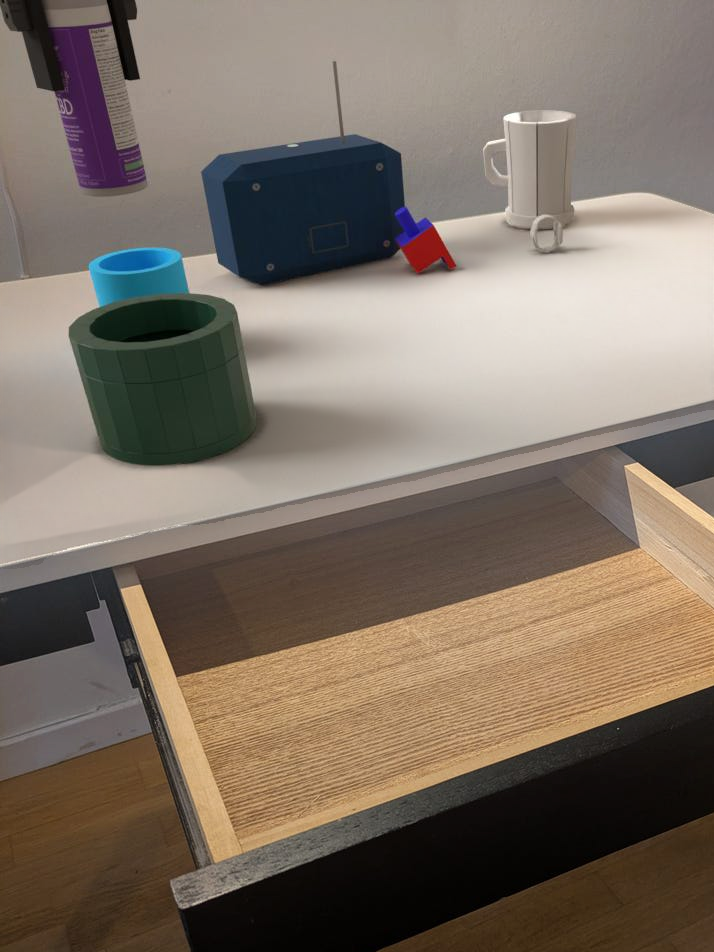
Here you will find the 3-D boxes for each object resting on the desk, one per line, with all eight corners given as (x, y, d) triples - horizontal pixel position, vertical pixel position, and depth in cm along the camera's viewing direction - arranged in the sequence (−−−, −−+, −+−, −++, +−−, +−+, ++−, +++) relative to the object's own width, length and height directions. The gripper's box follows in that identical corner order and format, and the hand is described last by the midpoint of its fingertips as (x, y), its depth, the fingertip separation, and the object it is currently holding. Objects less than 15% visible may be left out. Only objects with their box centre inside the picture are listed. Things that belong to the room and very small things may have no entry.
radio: (377, 239, 121) (360, 52, 109) (412, 256, 115) (398, 59, 103) (216, 272, 112) (177, 72, 100) (244, 291, 106) (207, 81, 94)
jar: (80, 468, 74) (43, 352, 68) (126, 401, 83) (98, 295, 78) (240, 463, 73) (217, 346, 68) (268, 397, 83) (249, 290, 78)
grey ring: (532, 255, 113) (533, 218, 111) (527, 250, 115) (528, 214, 112) (562, 252, 114) (563, 216, 111) (557, 247, 116) (558, 211, 113)
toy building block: (418, 278, 113) (381, 216, 108) (448, 256, 112) (412, 194, 107) (425, 287, 110) (388, 224, 105) (456, 265, 110) (420, 201, 105)
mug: (215, 348, 93) (197, 259, 88) (135, 372, 89) (111, 280, 84) (158, 317, 100) (139, 234, 95) (82, 338, 96) (57, 253, 91)
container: (67, 195, 69) (-4, -66, 60) (105, 180, 73) (44, -69, 63) (124, 198, 68) (61, -69, 59) (160, 182, 71) (106, -72, 62)
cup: (516, 236, 120) (515, 127, 112) (480, 220, 126) (477, 116, 119) (587, 223, 123) (591, 116, 116) (549, 208, 130) (550, 106, 123)
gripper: (-197, -459, 45) (-23, 108, 59) (153, -409, 54) (232, 71, 69) (-235, -423, 50) (-65, 96, 64) (94, -382, 59) (179, 63, 73)
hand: (88, 82), depth 66 cm, fingers closed on container, 5 cm apart
